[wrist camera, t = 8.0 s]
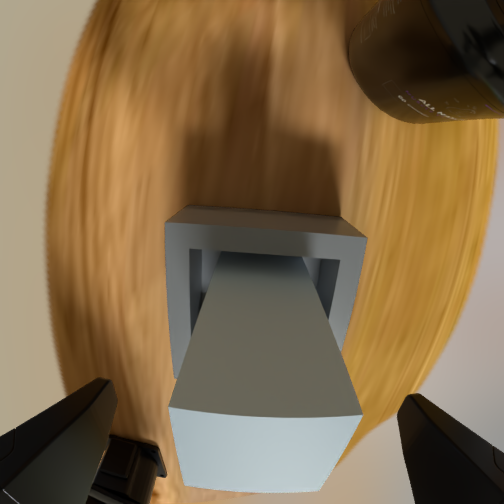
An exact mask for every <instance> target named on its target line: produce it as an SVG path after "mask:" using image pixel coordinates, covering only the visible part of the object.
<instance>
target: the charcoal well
mask: <svg viewBox="0 0 504 504" xmlns="http://www.w3.org/2000/svg"><path fill="white" fill-rule="evenodd" d="M366 243H367V237H366V236H365V235H363V234H362V233H361V232H360V231H358V230H357V229H356V228H354V227H353V226H352V225H351V224H349V223H348V222H347V221H346V220H344V219H343V218H342V217H335V216H326V215H316V214H305V213H294V212H283V211H270V210H258V209H244V208H229V207H213V206H195V205H187V206H186V207H185V208H183V209H182V210H181V211H179V212H178V213H176V214H175V215H174V216H172V217H171V218H170V219H169V220H167V221H166V222H165V260H166V286H167V304H168V319H169V332H170V343H171V354H172V363H173V372H174V378H176V379H177V378H178V375H179V372H180V369H181V366H182V363H183V360H184V357H185V354H186V351H187V348H188V345H189V342H190V339H191V336H192V333H193V330H194V327H195V324H196V322H197V319H198V316H199V313H200V310H201V307H202V304H203V301H204V299H205V296H206V293H207V290H208V287H209V284H210V282H211V279H212V276H213V273H214V270H215V268H216V265H217V262H218V259H219V257H220V254H221V251H229V252H243V253H256V254H270V255H283V256H297V257H302V258H303V260H304V262H305V265H306V267H307V270H308V272H309V274H310V277H311V279H312V282H313V284H314V286H315V289H316V291H317V294H318V296H319V299H320V301H321V304H322V306H323V309H324V311H325V314H326V316H327V319H328V321H329V324H330V326H331V329H332V331H333V334H334V337H335V339H336V342H337V344H338V347H339V350H340V352H341V350H342V347H343V343H344V340H345V336H346V332H347V329H348V325H349V321H350V317H351V313H352V309H353V305H354V301H355V296H356V292H357V288H358V283H359V278H360V274H361V269H362V264H363V259H364V254H365V248H366Z"/></svg>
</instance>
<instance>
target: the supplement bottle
mask: <svg viewBox="0 0 504 504" xmlns="http://www.w3.org/2000/svg"><path fill="white" fill-rule="evenodd" d="M349 60H350V65H351V68H352V71H353V74H354V76H355V78H356V80H357V82H358V84H359V86H360V87H361V89H362V90H363V92H364V93H365V94H366V96H367V97H368V98H369V99H370V100H371V101H372V102H373V103H374V104H375V105H376V106H377V107H378V108H379V109H381V110H382V111H383V112H385V113H386V114H388V115H390V116H392V117H394V118H396V119H398V120H401V121H403V122H407V123H413V124H425V123H438V122H448V121H461V120H476V119H501V118H504V0H379V1H378V2H377V3H376V4H375V6H374V7H373V8H372V9H371V10H370V11H369V12H368V13H367V14H366V15H365V17H364V18H363V19H362V20H361V21H360V22H359V24H358V25H357V26H356V28H355V29H354V31H353V33H352V35H351V38H350V43H349Z"/></svg>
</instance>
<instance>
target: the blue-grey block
mask: <svg viewBox="0 0 504 504" xmlns="http://www.w3.org/2000/svg"><path fill="white" fill-rule="evenodd" d="M168 408H169V414H170V420H171V425H172V431H173V436H174V441H175V446H176V451H177V456H178V460H179V465H180V469H181V473H182V477H183V481H184V485H185V486H191V487H198V488H205V489H214V490H224V491H236V492H256V493H292V492H312V491H319V490H320V488H321V487H322V485H323V484H324V482H325V481H326V479H327V478H328V476H329V474H330V473H331V471H332V470H333V468H334V466H335V465H336V463H337V462H338V460H339V458H340V457H341V455H342V453H343V451H344V450H345V448H346V446H347V444H348V443H349V441H350V439H351V437H352V435H353V433H354V432H355V430H356V428H357V426H358V424H359V422H360V420H361V418H362V416H363V413H362V410H361V407H360V404H359V401H358V399H357V396H356V393H355V390H354V387H353V385H352V382H351V379H350V376H349V374H348V371H347V368H346V366H345V363H344V360H343V358H342V355H341V352H340V350H339V347H338V344H337V342H336V339H335V337H334V334H333V331H332V329H331V326H330V324H329V321H328V319H327V316H326V314H325V311H324V309H323V306H322V304H321V301H320V299H319V296H318V294H317V291H316V289H315V286H314V284H313V282H312V279H311V277H310V274H309V272H308V270H307V267H306V265H305V262H304V260H303V258H302V257H297V256H283V255H270V254H256V253H243V252H229V251H221V254H220V257H219V259H218V262H217V265H216V268H215V270H214V273H213V276H212V279H211V282H210V284H209V287H208V290H207V293H206V296H205V299H204V301H203V304H202V307H201V310H200V313H199V316H198V319H197V322H196V324H195V327H194V330H193V333H192V336H191V339H190V342H189V345H188V348H187V351H186V354H185V357H184V360H183V363H182V366H181V369H180V372H179V375H178V378H177V381H176V384H175V387H174V391H173V394H172V397H171V400H170V403H169V406H168Z"/></svg>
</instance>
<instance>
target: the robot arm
mask: <svg viewBox="0 0 504 504" xmlns="http://www.w3.org/2000/svg"><path fill="white" fill-rule="evenodd" d="M116 407H117V396H116V392H115V389H114V386H113V383H112V381H111V380H109V379H106V378H102V377H99V378H96V379H95V380H93V381H91V382H90V383H88V384H87V385H85V386H83V387H82V388H80V389H79V390H77V391H75V392H74V393H72V394H70V395H69V396H67V397H66V398H64V399H62V400H61V401H59V402H57V403H56V404H54V405H53V406H51V407H49V408H48V409H46V410H45V411H43V412H41V413H39V414H38V415H36V416H34V417H33V418H31V419H29V420H28V421H26V422H24V423H23V424H21V425H19V426H18V427H16V429H13V430H11V431H9V432H7V433H6V434H4V435H2V436H0V504H149V503H150V499H151V496H152V492H153V488H154V484H155V480H156V477H157V476H158V477H163V478H166V476H167V472H166V469H165V466H164V463H163V460H162V457H161V454H160V450H159V448H157V447H155V446H152V445H147V444H143V443H138V442H134V441H130V440H126V439H122V438H119V437H115V436H112V435H109V433H110V429H111V425H112V422H113V418H114V414H115V410H116ZM397 420H398V426H399V431H400V437H401V444H402V450H403V455H404V460H405V464H406V468H407V471H408V476H409V480H410V484H411V488H412V492H413V496H414V501H415V504H504V453H503V452H502V451H500V450H499V449H497V448H496V447H494V446H492V445H491V444H490V443H488V442H487V441H486V440H484V439H483V438H481V437H480V436H479V435H477V434H476V433H474V432H473V431H471V430H470V429H469V428H467V427H466V426H464V425H463V424H461V423H460V422H459V421H457V420H455V419H454V418H453V417H451V416H450V415H449V414H447V413H446V412H444V411H443V410H442V409H440V408H439V407H438V406H436V405H435V404H433V403H432V402H430V401H429V400H428V399H426V398H425V397H424V396H422V395H421V394H419V393H415V394H409V395H407V396H406V398H405V399H404V401H403V403H402V405H401V407H400V409H399V410H398V413H397ZM104 451H105V453H104ZM103 453H104V455H103ZM102 455H103V457H102ZM101 458H102V460H101ZM100 461H101V462H100ZM99 463H100V465H99ZM98 466H99V467H98Z"/></svg>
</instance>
